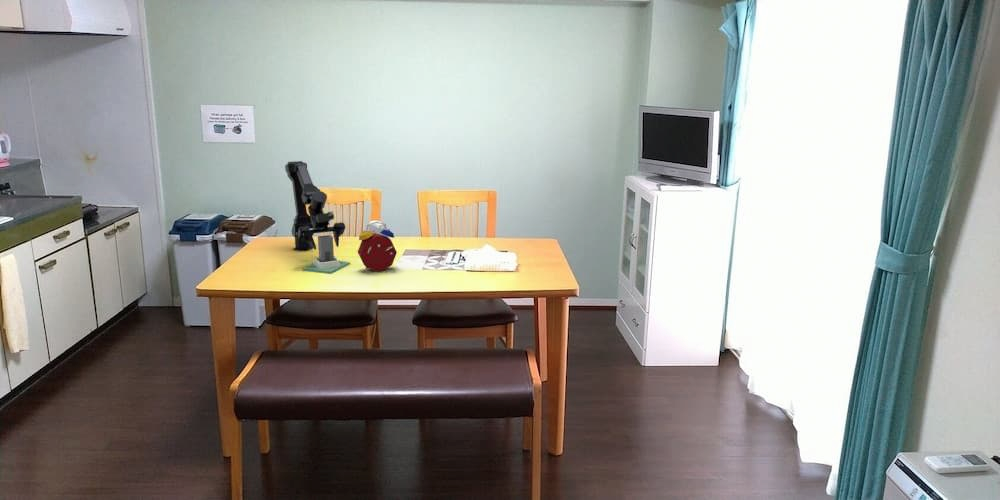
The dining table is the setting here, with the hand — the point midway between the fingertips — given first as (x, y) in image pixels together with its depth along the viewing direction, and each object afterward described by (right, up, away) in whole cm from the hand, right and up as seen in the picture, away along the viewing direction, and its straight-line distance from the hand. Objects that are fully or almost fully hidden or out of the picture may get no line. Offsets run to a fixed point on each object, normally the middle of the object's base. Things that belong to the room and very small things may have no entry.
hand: (326, 247), depth 294 cm
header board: (-1, -8, +3) cm, 9 cm away
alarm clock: (+21, -9, 0) cm, 23 cm away
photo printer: (+15, 0, +36) cm, 39 cm away
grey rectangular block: (-1, -7, +3) cm, 8 cm away
